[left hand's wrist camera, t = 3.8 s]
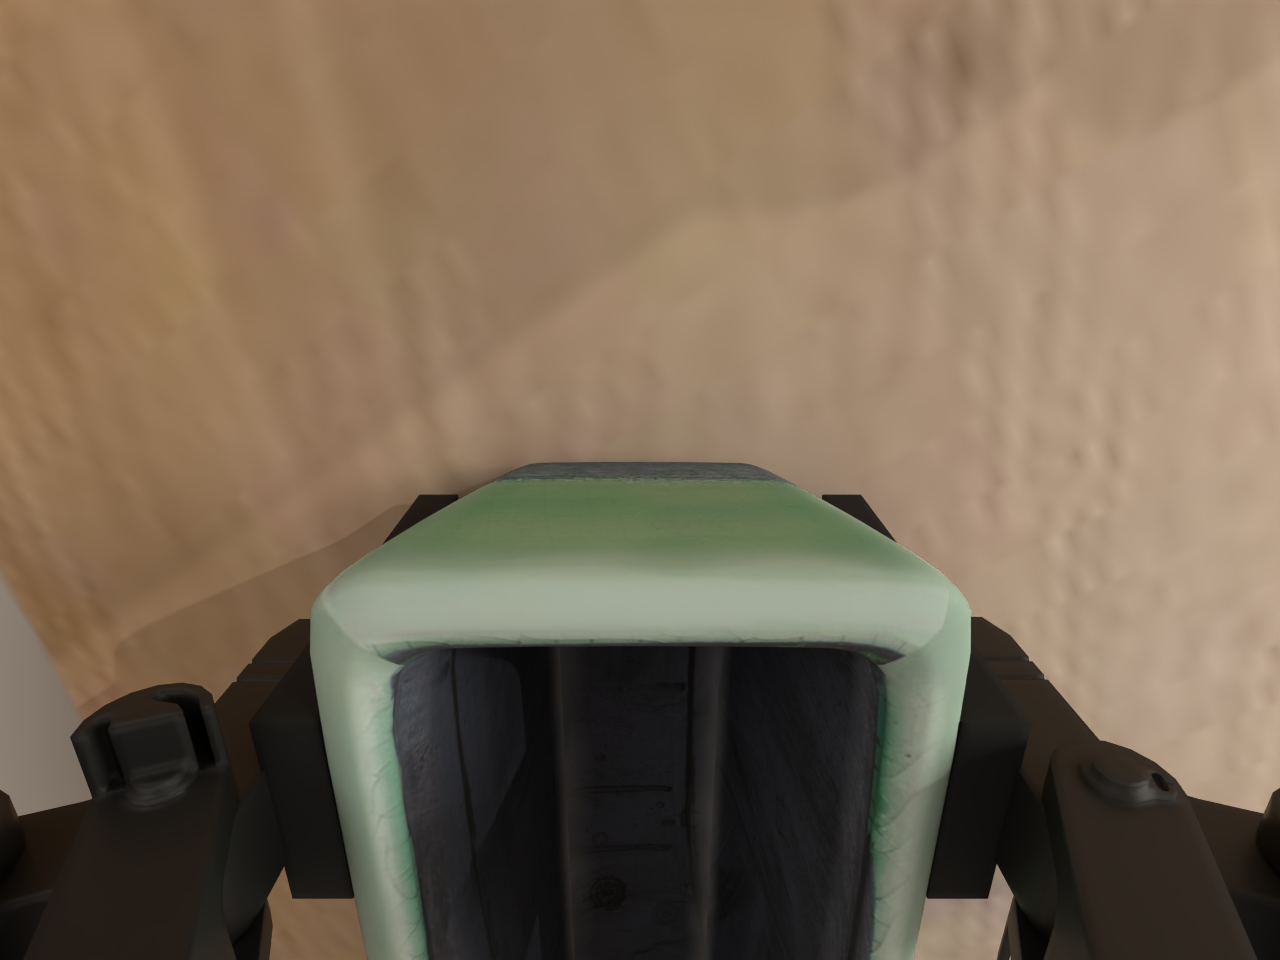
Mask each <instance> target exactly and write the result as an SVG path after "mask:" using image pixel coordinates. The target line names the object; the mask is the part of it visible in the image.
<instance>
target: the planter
mask: <svg viewBox="0 0 1280 960" xmlns="http://www.w3.org/2000/svg"><path fill="white" fill-rule="evenodd" d="M970 653H971V609H970V607H969V604H968V602H967V600H966V598H965V597H964V596H963V595H962V593H961V592H960V591H959V590H958V588H957V587H956V586H955V585H954V584H953V583H952V582H951V581H950V580H949V579H948V578H946V577H945V576H944V575H943V574H942V573H941V572H940V571H939V570H937V569H936V568H934V567H933V566H931V565H930V564H928V563H927V562H926V561H924V560H923V559H921V558H920V557H918V556H917V555H915V554H914V553H913V552H911V551H909V550H908V549H906V548H904V547H903V546H901V545H899V544H898V543H896V542H894V541H893V540H891V539H889V538H888V537H886V536H884V535H883V534H881V533H879V532H878V531H876V530H874V529H873V528H871V527H869V526H868V525H866V524H864V523H863V522H861V521H859V520H858V519H856V518H854V517H852V516H851V515H849V514H847V513H845V512H843V511H842V510H840V509H838V508H836V507H835V506H833V505H831V504H829V503H828V502H826V501H824V500H822V499H820V498H818V497H817V496H815V495H813V494H811V493H809V492H807V491H805V490H804V489H802V488H800V487H798V486H796V485H794V484H792V483H790V482H788V481H787V480H785V479H783V478H781V477H779V476H777V475H775V474H773V473H771V472H769V471H766V470H764V469H762V468H759V467H756V466H753V465H750V464H742V463H692V462H582V463H536V464H530V465H527V466H524V467H521V468H519V469H516V470H514V471H512V472H510V473H508V474H506V475H504V476H502V477H500V478H498V479H496V480H494V481H492V482H490V483H488V484H486V485H484V486H483V487H481V488H479V489H477V490H475V491H473V492H472V493H470V494H468V495H466V496H464V497H462V498H461V499H459V500H457V501H455V502H453V503H452V504H450V505H448V506H446V507H445V508H443V509H441V510H439V511H438V512H436V513H434V514H432V515H431V516H429V517H427V518H425V519H424V520H422V521H420V522H419V523H417V524H415V525H414V526H412V527H410V528H409V529H407V530H405V531H404V532H402V533H401V534H399V535H397V536H396V537H394V538H392V539H391V540H389V541H388V542H386V543H384V544H383V545H381V546H379V547H378V548H376V549H374V550H373V551H371V552H369V553H368V554H367V555H365V556H364V557H362V558H361V559H359V560H358V561H357V562H355V563H354V564H352V565H351V566H349V567H348V568H347V569H345V570H344V571H342V572H341V573H340V574H339V575H338V576H337V577H336V578H335V579H334V580H333V581H332V582H331V583H330V584H329V585H327V586H326V588H325V589H324V590H323V591H322V592H321V593H320V594H319V596H318V597H317V598H316V599H315V601H314V603H313V606H312V608H311V621H310V656H311V662H312V669H313V675H314V681H315V688H316V694H317V700H318V706H319V713H320V719H321V725H322V732H323V738H324V744H325V750H326V755H327V760H328V765H329V770H330V775H331V780H332V785H333V790H334V796H335V801H336V806H337V811H338V816H339V821H340V826H341V831H342V836H343V841H344V846H345V851H346V856H347V861H348V866H349V872H350V877H351V882H352V887H353V892H354V897H355V902H356V907H357V912H358V917H359V922H360V927H361V932H362V937H363V942H364V947H365V952H366V956H367V960H913V958H914V953H915V948H916V943H917V938H918V933H919V928H920V923H921V918H922V913H923V909H924V904H925V899H926V893H927V888H928V883H929V878H930V873H931V868H932V863H933V858H934V853H935V848H936V843H937V838H938V833H939V827H940V822H941V817H942V812H943V807H944V802H945V797H946V792H947V787H948V782H949V777H950V772H951V766H952V761H953V756H954V751H955V746H956V740H957V734H958V728H959V721H960V715H961V709H962V703H963V697H964V691H965V684H966V678H967V672H968V666H969V660H970Z"/></svg>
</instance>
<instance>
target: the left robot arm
mask: <svg viewBox="0 0 1280 960" xmlns="http://www.w3.org/2000/svg"><path fill="white" fill-rule="evenodd" d="M457 500H458V495H419V496H418V498H417V499H416V500H415V502H414V503H413V504H412V506H411V507H410V508H409V510H408V511H407V512H406V514H405V515H404V516H403V518H402V519H401V520H400V522H399V523H398V524H397V526H396V527H395V528H394V530H393V531H392V532H391V534H390V535H389V536H388V538H387V539H386V540H385V542H384V543H386V542H388V541H389V540H391V539H392V538H394V537H396V536H397V535H399V534H401V533H402V532H404V531H405V530H407V529H409V528H410V527H412V526H414V525H415V524H417V523H419V522H420V521H422V520H424V519H425V518H427V517H429V516H431V515H432V514H434V513H436V512H438V511H439V510H441V509H443V508H445V507H446V506H448V505H450V504H452V503H453V502H455V501H457ZM822 500H824V501H826V502H828V503H829V504H831V505H833V506H835V507H836V508H838V509H840V510H842V511H843V512H845V513H847V514H849V515H851V516H852V517H854V518H856V519H858V520H859V521H861V522H863V523H864V524H866V525H868V526H869V527H871V528H873V529H874V530H876V531H878V532H879V533H881V534H883V535H884V536H886V537H888V538H889V539H891V540H893V541H894V542H896V541H895V540H894V538H893V537H892V536H891V534H890V533H889V532H888V530H887V529H886V528H885V526H884V525H883V524H882V522H881V521H880V520H879V518H878V517H877V516H876V514H875V513H874V512H873V510H872V509H871V508H870V506H869V505H868V504H867V502H866V501H865V500H864V498H863V497H862V496H861V495H822ZM384 543H383V544H384ZM896 543H897V542H896ZM383 544H382V545H383ZM310 621H311V619H299V620H297V621H296V622H294V623H293V624H291V625H290V626H288V627H286V628H285V629H283V630H282V631H280V632H279V633H277V634H276V635H274V636H273V637H271V638H270V639H269V640H268V641H267V643H266V644H265V645H264V646H263V647H262V649H261V650H260V651H259V652H258V653H257V654H256V656H255V657H254V658H253V659H252V664H248V665H247V666H246V668H245V669H244V670H243V671H242V672H241V673H240V675H239V676H238V677H237V682H233V683H232V684H231V685H230V686H229V688H228V689H227V690H226V691H225V692H224V694H223V695H222V696H221V697H220V698H219V699H218V701H217V702H216V703H215V704H214V700H213V696H212V694H211V693H210V692H208V691H207V690H206V689H204V688H203V687H202V686H199V685H192V684H186V683H175V684H165V685H157V686H153V687H150V688H146V689H143V690H139V691H136V692H132V693H130V694H128V695H126V696H123V697H121V698H119V699H117V700H115V701H113V702H111V703H109V704H106V705H105V706H103V707H102V708H100V709H99V710H98V711H96V712H95V713H93V714H92V715H91V716H89V717H88V718H86V719H85V720H84V721H83V722H82V723H81V724H80V726H79V727H78V728H77V729H76V730H75V732H74V733H73V734H72V735H71V737H70V738H71V741H72V744H73V746H74V749H75V751H76V754H77V757H78V760H79V762H80V765H81V768H82V771H83V773H84V776H85V779H86V781H87V784H88V787H89V789H90V792H91V795H92V799H91V800H87V801H84V802H80V803H76V804H71V805H67V806H62V807H58V808H53V809H49V810H45V811H40V812H36V813H31V814H27V815H23V816H17V813H16V811H15V809H14V806H13V804H12V801H11V799H10V797H9V795H7V794H6V793H4V792H3V791H1V790H0V960H269V957H270V947H271V937H272V928H273V924H272V918H271V912H270V907H269V903H268V900H267V897H268V895H269V893H270V892H271V890H272V888H273V886H274V884H275V882H276V880H277V878H278V877H279V875H280V873H281V871H282V869H283V867H285V871H286V875H287V879H288V882H289V886H290V890H291V894H292V898H293V899H353V898H354V892H353V887H352V882H351V877H350V872H349V866H348V861H347V856H346V851H345V846H344V841H343V836H342V831H341V826H340V821H339V816H338V811H337V806H336V801H335V796H334V790H333V785H332V780H331V775H330V770H329V765H328V760H327V755H326V750H325V744H324V738H323V732H322V725H321V719H320V713H319V706H318V700H317V694H316V688H315V681H314V675H313V669H312V662H311V656H310ZM996 864H997V865H998V867H999V868H1000V870H1001V872H1002V874H1003V876H1004V878H1005V880H1006V882H1007V883H1008V885H1009V887H1010V889H1011V891H1012V893H1013V895H1014V896H1013V900H1012V903H1011V907H1010V911H1009V915H1008V918H1007V922H1006V926H1005V929H1004V933H1003V937H1002V940H1001V944H1000V948H999V951H998V957H997V960H1009V958H1010V955H1011V960H1280V788H1279V789H1278V790H1276V791H1275V792H1273V794H1272V796H1271V798H1270V801H1269V803H1268V805H1267V808H1266V810H1265V812H1264V814H1263V813H1258V812H1254V811H1249V810H1245V809H1240V808H1236V807H1232V806H1227V805H1223V804H1218V803H1214V802H1210V801H1205V800H1201V799H1197V798H1193V797H1190V796H1187V795H1186V793H1185V792H1184V790H1183V789H1182V788H1181V786H1180V785H1179V783H1178V782H1177V780H1176V779H1175V778H1174V777H1172V776H1171V775H1170V774H1169V773H1168V772H1166V771H1165V770H1164V769H1163V768H1161V767H1160V766H1159V765H1158V764H1157V763H1155V762H1153V761H1152V760H1150V759H1148V758H1146V757H1144V756H1142V755H1140V754H1138V753H1137V752H1135V751H1133V750H1131V749H1128V748H1125V747H1122V746H1119V745H1116V744H1113V743H1110V742H1106V741H1100V740H1099V739H1098V738H1097V737H1096V736H1095V734H1094V733H1093V732H1092V731H1091V730H1090V729H1089V727H1088V726H1087V725H1086V724H1085V723H1084V721H1083V720H1082V719H1081V718H1080V717H1079V716H1078V714H1077V713H1076V712H1075V711H1074V710H1073V709H1072V707H1071V706H1070V705H1069V704H1068V703H1067V702H1066V700H1065V699H1064V698H1063V697H1062V696H1061V694H1060V693H1059V692H1058V691H1057V690H1056V689H1055V687H1054V686H1053V685H1052V684H1051V683H1050V682H1049V680H1045V679H1044V674H1043V673H1042V672H1041V671H1040V670H1039V669H1038V667H1037V666H1036V665H1035V664H1034V663H1033V662H1032V661H1029V657H1028V656H1027V655H1026V653H1025V652H1024V651H1023V650H1022V649H1021V647H1020V646H1019V645H1018V644H1017V643H1016V642H1015V640H1014V639H1013V638H1012V637H1011V636H1010V635H1009V634H1007V633H1006V632H1004V631H1003V630H1001V629H999V628H998V627H996V626H995V625H993V624H992V623H990V622H989V621H987V620H985V619H984V618H982V617H971V653H970V660H969V666H968V672H967V678H966V684H965V691H964V697H963V703H962V709H961V715H960V721H959V728H958V734H957V740H956V746H955V751H954V756H953V761H952V766H951V772H950V777H949V782H948V787H947V792H946V797H945V802H944V807H943V812H942V817H941V822H940V827H939V833H938V838H937V843H936V848H935V853H934V858H933V863H932V868H931V873H930V878H929V883H928V888H927V893H926V897H927V899H988V896H989V892H990V888H991V884H992V880H993V876H994V872H995V868H996Z"/></svg>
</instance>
